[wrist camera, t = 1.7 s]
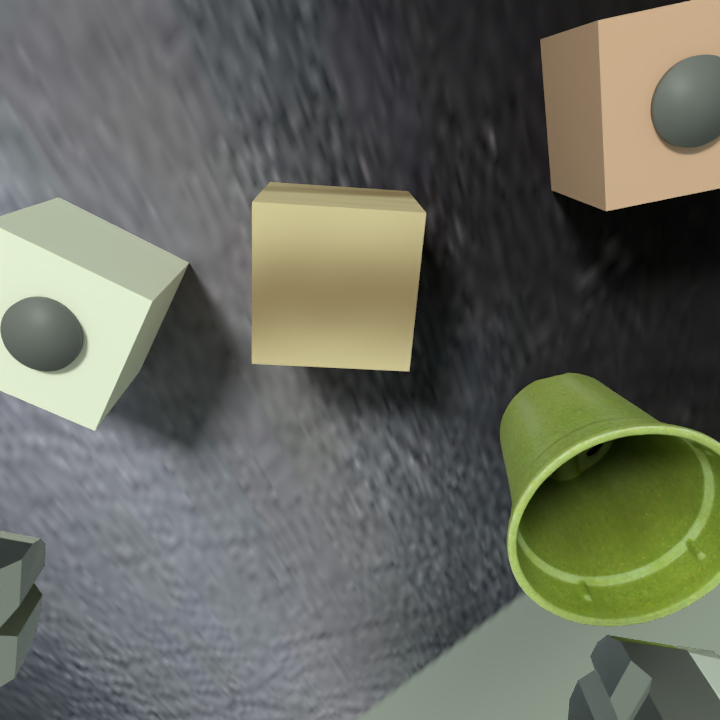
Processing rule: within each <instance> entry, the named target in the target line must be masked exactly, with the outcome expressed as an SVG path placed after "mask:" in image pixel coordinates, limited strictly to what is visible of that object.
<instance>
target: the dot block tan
mask: <svg viewBox="0 0 720 720" xmlns="http://www.w3.org/2000/svg"><path fill="white" fill-rule="evenodd" d="M540 42H541V55H542V68H543V82H544V95H545V108H546V122H547V135H548V148H549V161H550V175H551V188H552V191H555V192H558V193H560V194H563V195H565V196H568V197H570V198H573V199H576V200H578V201H581V202H583V203H586V204H588V205H591V206H594V207H596V208H599V209H601V210H604V211H610V210H615V209H620V208H625V207H630V206H635V205H640V204H645V203H650V202H655V201H660V200H664V199H669V198H674V197H679V196H684V195H689V194H694V193H699V192H704V191H709V190H714V189H719V188H720V0H691V1H687V2H682V3H677V4H673V5H668V6H663V7H659V8H654V9H650V10H645V11H640V12H636V13H631V14H626V15H622V16H617V17H612V18H608V19H603V20H598V21H595V22H592V23H589V24H586V25H583V26H580V27H577V28H574V29H571V30H568V31H565V32H562V33H559V34H556V35H553V36H550V37H547V38H544V39H541V40H540Z"/></svg>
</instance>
